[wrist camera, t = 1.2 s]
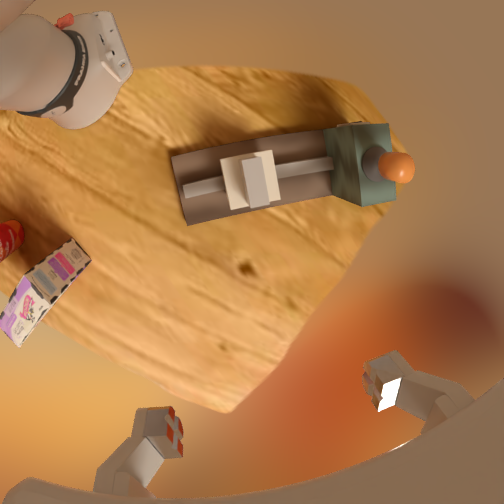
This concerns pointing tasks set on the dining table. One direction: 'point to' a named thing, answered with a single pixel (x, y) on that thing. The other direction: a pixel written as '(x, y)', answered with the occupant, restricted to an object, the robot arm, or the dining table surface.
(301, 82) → the dining table surface
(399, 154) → the button
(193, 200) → the rail base
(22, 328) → the candy box
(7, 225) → the paper cup
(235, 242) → the dining table surface
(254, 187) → the carriage
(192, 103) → the dining table surface
